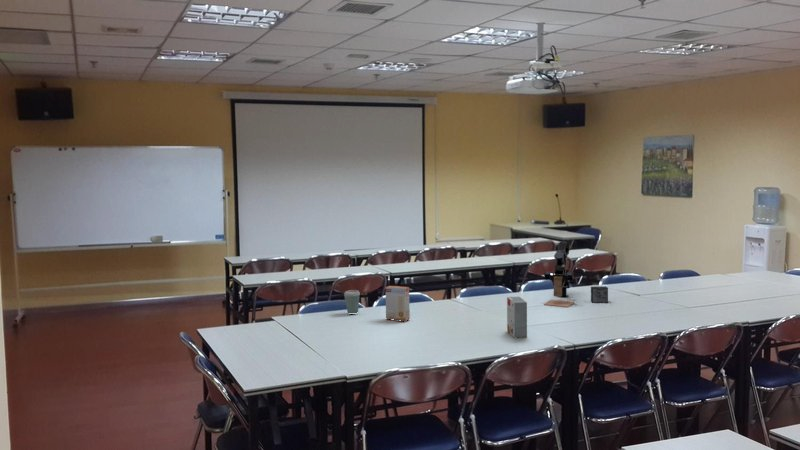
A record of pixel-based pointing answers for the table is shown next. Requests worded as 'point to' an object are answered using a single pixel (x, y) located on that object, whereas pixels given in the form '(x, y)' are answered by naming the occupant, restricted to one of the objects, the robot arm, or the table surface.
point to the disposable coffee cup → (352, 300)
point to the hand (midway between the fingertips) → (557, 286)
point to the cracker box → (397, 303)
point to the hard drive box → (517, 316)
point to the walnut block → (558, 286)
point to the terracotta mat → (559, 303)
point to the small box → (599, 294)
